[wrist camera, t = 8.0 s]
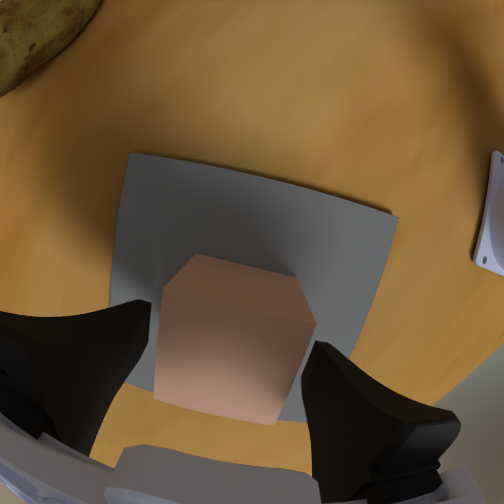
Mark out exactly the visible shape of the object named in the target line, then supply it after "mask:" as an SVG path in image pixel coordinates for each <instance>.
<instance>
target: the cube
mask: <svg viewBox="0 0 504 504" xmlns="http://www.w3.org/2000/svg"><path fill="white" fill-rule="evenodd" d="M316 324H317V323H316V321H315V318H314V316H313V314H312V311H311V309H310V307H309V304H308V302H307V300H306V297H305V295H304V293H303V291H302V288H301V286H300V284H299V282H298V279H297V277H293V276H289V275H285V274H280V273H276V272H272V271H267V270H263V269H259V268H255V267H250V266H246V265H242V264H238V263H233V262H229V261H225V260H221V259H217V258H213V257H208V256H204V255H200V254H195V255H194V256H193V257H192V258H191V260H190V261H189V262H188V263H187V264H186V265H185V266H184V267H183V268H182V269H181V270H180V271H179V272H178V273H177V274H176V275H175V276H174V277H173V278H172V279H171V280H170V281H169V282H168V284H167V285H166V286H165V287H164V288H163V293H162V301H161V310H160V319H159V328H158V338H157V350H156V363H155V379H154V399H156V400H160V401H163V402H166V403H169V404H173V405H176V406H180V407H184V408H187V409H191V410H195V411H199V412H203V413H208V414H212V415H217V416H221V417H226V418H231V419H237V420H242V421H248V422H254V423H261V424H268V425H275V423H276V421H277V419H278V417H279V415H280V412H281V410H282V408H283V406H284V404H285V401H286V399H287V397H288V395H289V392H290V390H291V388H292V385H293V383H294V381H295V378H296V376H297V373H298V371H299V368H300V366H301V364H302V361H303V359H304V356H305V353H306V351H307V348H308V346H309V343H310V340H311V338H312V335H313V332H314V330H315V327H316Z"/></svg>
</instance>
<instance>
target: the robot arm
mask: <svg viewBox="0 0 504 504" xmlns="http://www.w3.org/2000/svg"><path fill="white" fill-rule="evenodd" d="M473 262H474V264H475V265H478V266H480V267H483V268H485V269H488V270H490V271H493V272H495V273H498V274H500V275H502V276H504V155H503V154H502V153H500V152H499V151H493V152H492V155H491V166H490V176H489V184H488V191H487V197H486V203H485V209H484V214H483V219H482V224H481V228H480V233H479V237H478V241H477V245H476V249H475V252H474V256H473ZM151 306H152V303H151V302H147V301H144V300H141V299H137V300H133V301H129V302H126V303H123V304H119V305H116V306H113V307H110V308H106V309H102V310H98V311H94V312H90V313H86V314H80V315H73V316H62V317H35V316H25V315H18V314H13V313H8V312H3V311H0V481H1V482H2V483H3V484H5V485H6V486H7V487H8V488H10V490H12V491H13V492H14V493H15V494H17V495H18V496H19V497H20V498H22V499H23V500H24V501H25V502H27V503H28V504H485V503H486V502H485V501H484V499H483V497H482V495H481V493H480V492H479V490H478V488H477V486H476V484H475V483H474V481H473V479H472V478H471V476H470V474H469V473H468V471H467V469H466V468H465V466H464V465H460V466H458V467H455V468H452V469H449V470H447V471H445V472H443V473H441V474H440V475H439V474H438V472H437V470H436V469H438V468H439V467H440V465H441V464H440V463H439V461H438V459H439V458H440V456H441V455H442V454H443V453H444V452H445V451H446V450H447V449H448V448H449V446H450V445H451V444H452V443H453V442H454V440H455V439H456V438H457V436H458V434H459V432H460V428H461V423H460V421H459V419H458V418H457V417H456V415H455V414H454V413H453V412H452V411H449V410H444V409H440V408H436V407H432V406H428V405H425V404H422V403H420V402H417V401H414V400H412V399H409V398H407V397H405V396H403V395H400V394H398V393H396V392H394V391H392V390H391V389H389V388H387V387H385V386H384V385H382V384H381V383H379V382H377V381H376V380H374V379H373V378H372V377H370V376H369V375H368V374H366V373H365V372H364V371H362V370H361V369H360V368H359V367H357V366H356V365H355V364H354V363H353V362H351V361H350V360H349V359H348V358H347V357H346V356H344V355H343V354H342V353H341V352H340V351H339V350H337V349H336V348H335V347H334V346H332V345H331V344H330V343H328V342H322V341H316V340H315V342H314V345H313V348H312V350H311V353H310V355H309V358H308V360H307V363H306V365H305V367H304V370H303V372H302V375H301V393H302V400H303V404H304V409H305V414H306V419H307V423H308V428H309V433H310V440H311V454H312V477H311V476H310V475H308V474H306V473H304V472H298V471H293V470H288V469H282V468H269V467H259V466H251V465H243V464H237V463H230V462H224V461H219V460H214V459H209V458H204V457H200V456H195V455H191V454H187V453H183V452H179V451H175V450H172V449H168V448H162V447H157V446H151V445H146V444H144V445H137V446H132V447H126V448H124V449H123V452H122V454H121V456H120V458H119V460H118V462H117V464H116V467H115V469H114V468H112V467H109V466H107V465H105V464H102V463H100V462H98V461H96V460H94V459H92V458H89V455H90V452H91V449H92V446H93V444H94V441H95V438H96V436H97V433H98V431H99V428H100V426H101V424H102V422H103V419H104V417H105V415H106V413H107V411H108V409H109V407H110V405H111V402H112V400H113V398H114V397H115V395H116V393H117V392H118V390H119V389H120V387H121V386H122V384H123V383H124V382H125V380H126V379H127V377H128V376H129V374H130V373H131V372H132V370H133V369H134V367H135V366H136V364H137V363H138V361H139V360H140V358H141V356H142V354H143V352H144V350H145V348H146V346H147V344H148V342H149V328H150V317H151Z"/></svg>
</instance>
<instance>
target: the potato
mask: <svg viewBox="0 0 504 504" xmlns="http://www.w3.org/2000/svg"><path fill="white" fill-rule="evenodd" d="M101 1H102V0H1V1H0V98H1V97H2V96H4V95H5V94H7V93H8V92H9V91H11V90H13V89H15V88H16V87H17V86H18V85H20V84H21V83H22V82H23V81H25V80H26V78H28V77H29V76H30V75H31V73H32V72H33V71H34V70H35V69H36V68H37V67H38V66H40V65H41V64H43V63H44V62H46V61H47V60H49V59H51V58H52V57H53V56H55V55H56V54H58V53H59V52H60V51H61V50H63V49H64V48H65V47H66V46H67V45H68V44H69V43H70V42H71V41H72V40H73V39H74V38H75V36H76V35H77V34H78V33H79V32H80V31H81V30H82V28H83V27H84V26H85V25H86V23H87V22H88V21H89V19H90V18H91V17H92V15H93V14H94V12H95V11H96V9H97V8H98V6H99V4H100V3H101Z"/></svg>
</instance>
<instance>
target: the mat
mask: <svg viewBox="0 0 504 504" xmlns="http://www.w3.org/2000/svg"><path fill="white" fill-rule="evenodd" d="M398 218H399V217H396V216H394V215H391V214H388V213H385V212H382V211H379V210H376V209H373V208H370V207H367V206H364V205H361V204H358V203H354V202H351V201H348V200H345V199H342V198H338V197H335V196H331V195H328V194H325V193H321V192H318V191H314V190H311V189H307V188H303V187H300V186H296V185H292V184H288V183H284V182H280V181H276V180H272V179H268V178H264V177H260V176H256V175H251V174H247V173H243V172H238V171H234V170H229V169H224V168H219V167H214V166H209V165H204V164H199V163H194V162H188V161H183V160H177V159H171V158H165V157H159V156H152V155H146V154H139V153H131V152H130V155H129V159H128V164H127V168H126V173H125V178H124V183H123V188H122V194H121V200H120V206H119V212H118V219H117V226H116V234H115V243H114V252H113V263H112V276H111V294H110V307H113V306H116V305H119V304H123V303H126V302H129V301H133V300H137V299H141V300H144V301H147V302H151V303H152V306H151V317H150V328H149V342H148V344H147V346H146V348H145V350H144V352H143V354H142V356H141V358H140V360H139V361H138V363H137V364H136V366H135V367H134V369H133V370H132V372H131V373H130V374H129V376H128V377H127V379H126V380H125V382H126V383H129V384H131V385H134V386H137V387H140V388H143V389H146V390H149V391H152V392H154V379H155V363H156V350H157V338H158V328H159V319H160V310H161V301H162V293H163V288H164V287H165V286H166V285H167V284H168V282H169V281H170V280H171V279H172V278H173V277H174V276H175V275H176V274H177V273H178V272H179V271H180V270H181V269H182V268H183V267H184V266H185V265H186V264H187V263H188V262H189V261H190V260H191V258H192V257H193V256H194V255H195V254H200V255H204V256H208V257H213V258H217V259H221V260H225V261H229V262H233V263H238V264H242V265H246V266H250V267H255V268H259V269H263V270H267V271H272V272H276V273H280V274H285V275H289V276H293V277H297V279H298V282H299V284H300V286H301V288H302V291H303V293H304V295H305V297H306V300H307V302H308V304H309V307H310V309H311V311H312V314H313V316H314V318H315V321H316V323H317V324H316V327H315V330H314V332H313V335H312V338H311V340H310V343H309V346H308V348H307V351H306V353H305V356H304V359H303V361H302V364H301V366H300V368H299V371H298V373H297V376H296V378H295V381H294V383H293V385H292V388H291V390H290V392H289V395H288V397H287V399H286V401H285V404H284V406H283V408H282V410H281V412H280V415H279V417H278V420H286V421H296V422H307V419H306V414H305V409H304V404H303V400H302V393H301V375H302V372H303V370H304V367H305V365H306V363H307V360H308V358H309V355H310V353H311V350H312V348H313V345H314V342H315V340H316V341H322V342H328V343H330V344H331V345H332V346H334V347H335V348H336V349H337V350H339V351H340V352H341V353H342V354H343V355H344V356H346V357H347V358H348V359H349V357H350V355H351V353H352V350H353V348H354V346H355V344H356V341H357V339H358V337H359V334H360V332H361V330H362V327H363V325H364V322H365V320H366V317H367V315H368V312H369V309H370V307H371V304H372V302H373V299H374V296H375V293H376V290H377V288H378V285H379V282H380V279H381V276H382V273H383V270H384V267H385V264H386V260H387V257H388V254H389V251H390V247H391V244H392V240H393V237H394V233H395V230H396V226H397V222H398Z"/></svg>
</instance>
